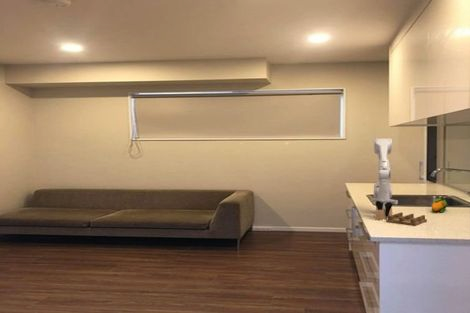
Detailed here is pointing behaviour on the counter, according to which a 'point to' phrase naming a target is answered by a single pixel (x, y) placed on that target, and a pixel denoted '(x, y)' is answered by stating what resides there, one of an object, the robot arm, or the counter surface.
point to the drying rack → (406, 219)
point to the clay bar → (382, 214)
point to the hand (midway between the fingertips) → (383, 215)
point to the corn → (439, 205)
